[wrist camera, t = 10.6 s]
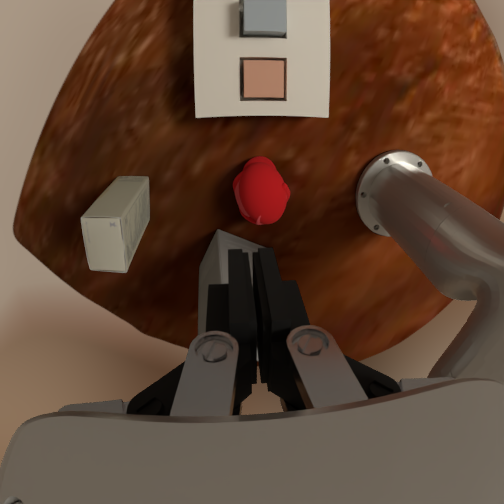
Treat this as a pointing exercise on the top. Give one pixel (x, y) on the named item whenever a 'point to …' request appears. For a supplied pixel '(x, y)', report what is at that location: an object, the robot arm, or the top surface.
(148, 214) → the skincare box
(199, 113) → the button panel
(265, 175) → the cap
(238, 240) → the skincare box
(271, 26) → the slate button
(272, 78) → the terracotta button
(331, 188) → the top surface
